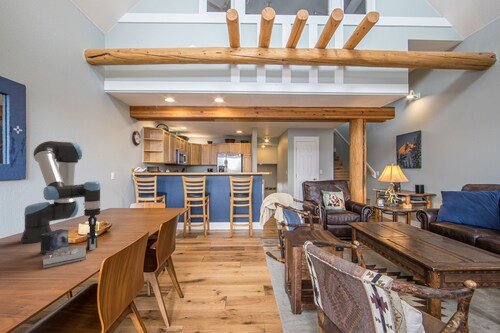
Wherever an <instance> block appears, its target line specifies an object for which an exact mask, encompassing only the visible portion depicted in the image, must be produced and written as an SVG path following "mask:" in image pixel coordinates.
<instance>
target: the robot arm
mask: <svg viewBox="0 0 500 333" xmlns="http://www.w3.org/2000/svg"><path fill="white" fill-rule="evenodd" d="M32 154H33V158H34V161H36V162H37V163H38V166H39V169H40V171H41V174H42V177H43V180H44V183H45V187H44V188H43V191H42V192H43V194H42V195H43V199H44V200H46V201H44V202H37V203H33V204H29V205H27V206H26V207H25V208H24V213H23V215H24V230H23V233H22V235H21V237H20V243H21V244H35V243H39V242H40V243H41V234H44V233H48V232H52V231H53V230H52V227H51V225H50V222H54V221H59V220H60V221H61V220H67V219H71V218H75V217H76V216H77V214H78V212H79V208H80V207H79V206H80V205H79V202H78V201H77V200H76V198H83V199H84V200H83V201H84V202H83V203H82V205H84V207H83V208H84V210H83V212H84V213H83V216H85V217H89V218H87V222H88V227H89V232H90V238H88V239H90V250H89V251H93V250H96V249H97V248H96V236H95V231H96V226H97V221H98V220H97V217H96V216H98V215H101V183H100V181H86V182H84V183H81V184H75V172H76V171H75V170H76V164H78V163H79V160H80V161H81V160H82V158H83V150H82V147H81V145H80V144H79V143H77V142H70V141H57V140H55V141H53V140H46V141H43V142H41V143H40V144H38V145H37V146H36V147H35V148H34V151H33V153H32ZM57 164H58V165H57ZM49 201H53V203H50V202H49Z"/></svg>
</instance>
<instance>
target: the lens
mask: <svg viewBox="0 0 500 333" xmlns="http://www.w3.org/2000/svg"><path fill="white" fill-rule="evenodd" d="M98 234H99V233H98V231H96V230H95V236H96V249H98V247H99V246H98V244H99V243H98V241H99V240H98V236H99V235H98ZM88 238H90V231H89V232H87V233H86V251H87V250H89V251H91V250H90V239H88Z"/></svg>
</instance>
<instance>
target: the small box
mask: <svg viewBox="0 0 500 333" xmlns="http://www.w3.org/2000/svg"><path fill="white" fill-rule="evenodd" d="M67 246H69V229H63V228H59V229H56V230H52V232H48V233H44V234H41V241H40V251H39V252H40V254H46V252H48V251H53V250H56V249H59V248H63V247H67Z"/></svg>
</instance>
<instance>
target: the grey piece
mask: <svg viewBox="0 0 500 333" xmlns="http://www.w3.org/2000/svg"><path fill="white" fill-rule="evenodd" d="M44 254H45V253H44ZM80 260H81V261H85V260H87V244H83V245H68V246H67V247H63V248H59V249H56V250H53V251H48V252H46V254H45V255H44V257H43V259H42V268H43V269H45V268H46V269H47V268H52V267H56V266H60V265H65V264H69V263H76V262H80Z"/></svg>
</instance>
